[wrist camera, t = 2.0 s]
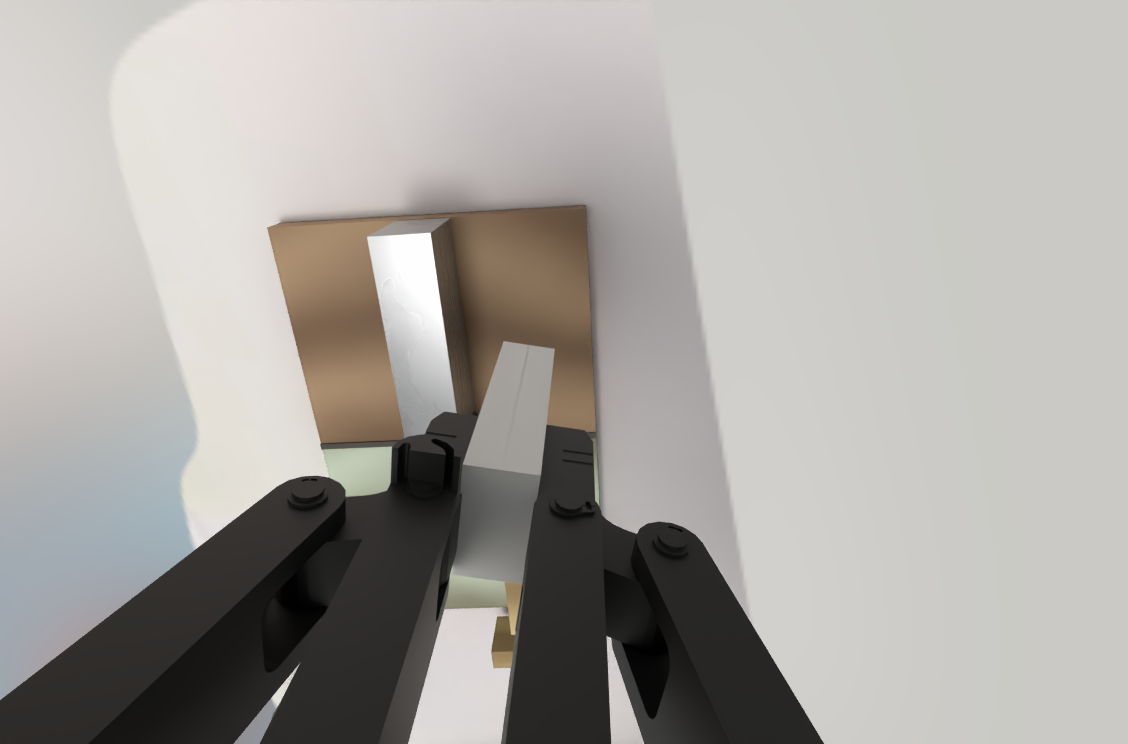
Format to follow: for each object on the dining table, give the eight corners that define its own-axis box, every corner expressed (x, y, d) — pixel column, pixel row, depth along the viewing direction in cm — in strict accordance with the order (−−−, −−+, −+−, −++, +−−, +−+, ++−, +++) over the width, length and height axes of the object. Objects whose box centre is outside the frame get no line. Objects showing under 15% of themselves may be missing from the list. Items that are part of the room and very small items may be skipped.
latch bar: (500, 474, 31) (489, 520, 27) (423, 477, 31) (403, 523, 28) (469, 216, 26) (451, 231, 22) (377, 221, 26) (345, 238, 22)
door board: (604, 613, 36) (606, 665, 33) (375, 619, 37) (354, 671, 33) (585, 205, 27) (586, 218, 23) (279, 223, 28) (237, 238, 24)
